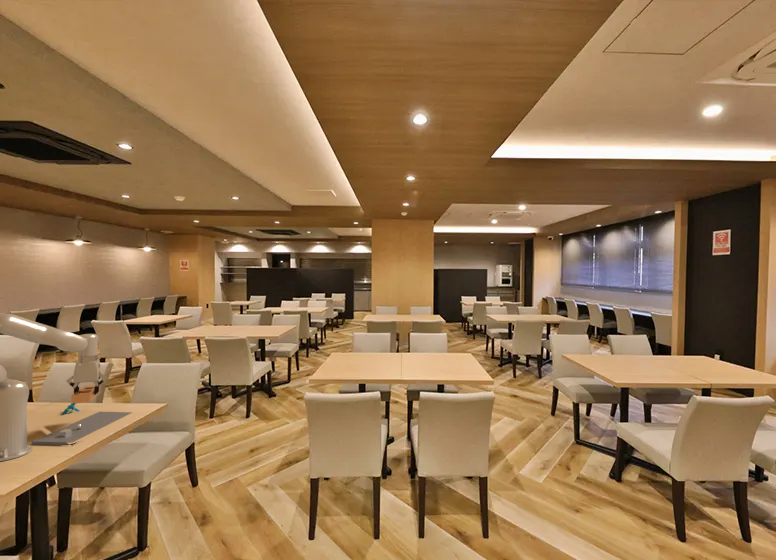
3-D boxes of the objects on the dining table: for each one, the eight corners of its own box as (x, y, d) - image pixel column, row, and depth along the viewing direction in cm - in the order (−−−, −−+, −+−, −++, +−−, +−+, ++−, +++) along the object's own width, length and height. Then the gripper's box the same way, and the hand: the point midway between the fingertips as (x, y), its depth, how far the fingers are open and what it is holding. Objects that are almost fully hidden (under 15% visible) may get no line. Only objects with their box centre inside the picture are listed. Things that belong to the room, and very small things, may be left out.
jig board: (72, 445, 164) (72, 437, 164) (32, 444, 165) (32, 436, 165) (132, 415, 200) (132, 408, 199) (99, 414, 201) (99, 407, 201)
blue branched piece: (63, 408, 205) (79, 394, 207) (73, 414, 207) (88, 400, 210) (57, 417, 195) (74, 403, 198) (68, 423, 198) (84, 409, 200)
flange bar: (89, 402, 176) (90, 393, 176) (71, 403, 173) (71, 395, 173) (100, 393, 191) (100, 385, 191) (83, 394, 188) (83, 386, 188)
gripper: (111, 356, 189) (110, 391, 189) (68, 358, 182) (67, 394, 182) (106, 359, 182) (105, 395, 182) (62, 361, 175) (61, 398, 175)
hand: (86, 394), depth 182 cm, fingers closed on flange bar, 7 cm apart
